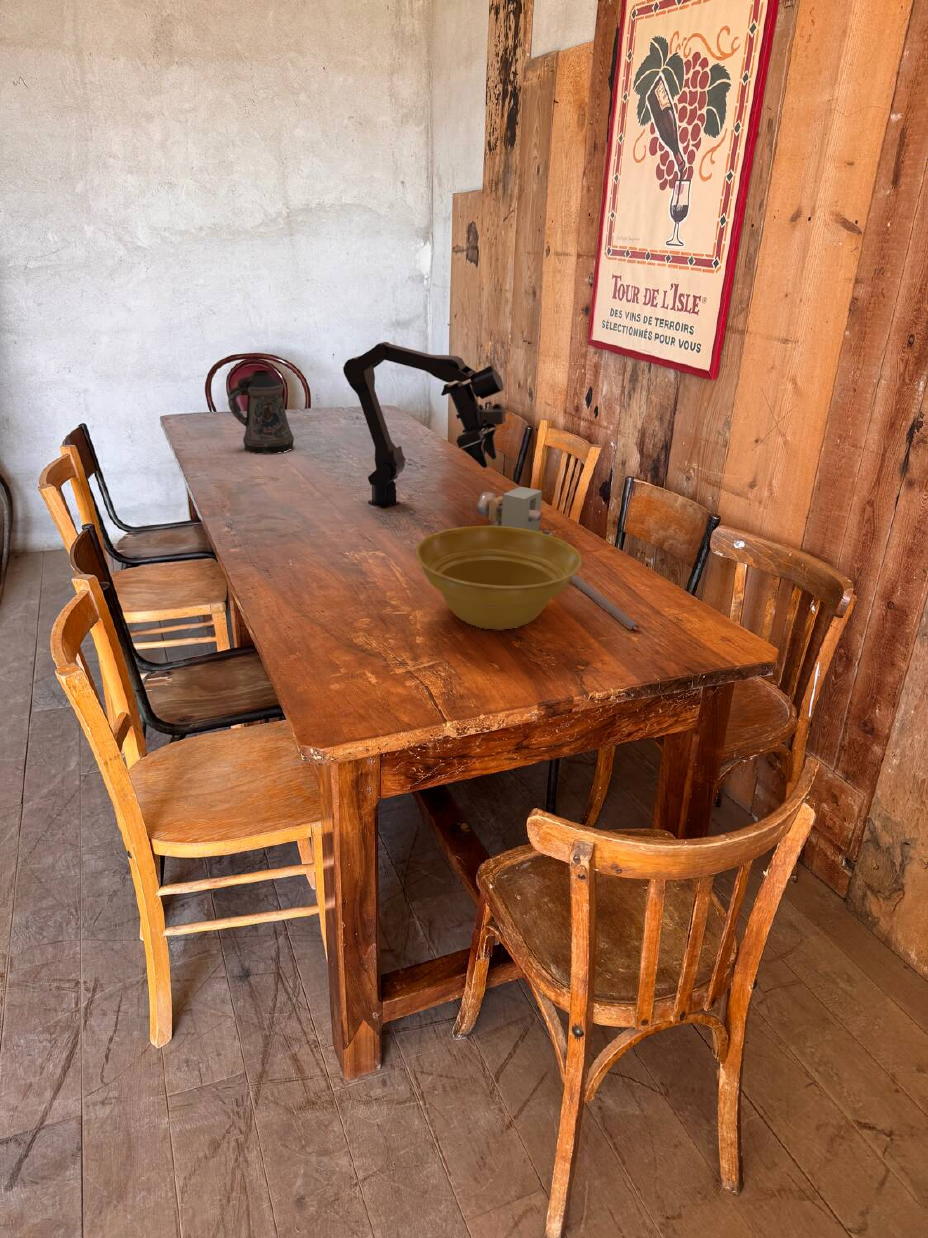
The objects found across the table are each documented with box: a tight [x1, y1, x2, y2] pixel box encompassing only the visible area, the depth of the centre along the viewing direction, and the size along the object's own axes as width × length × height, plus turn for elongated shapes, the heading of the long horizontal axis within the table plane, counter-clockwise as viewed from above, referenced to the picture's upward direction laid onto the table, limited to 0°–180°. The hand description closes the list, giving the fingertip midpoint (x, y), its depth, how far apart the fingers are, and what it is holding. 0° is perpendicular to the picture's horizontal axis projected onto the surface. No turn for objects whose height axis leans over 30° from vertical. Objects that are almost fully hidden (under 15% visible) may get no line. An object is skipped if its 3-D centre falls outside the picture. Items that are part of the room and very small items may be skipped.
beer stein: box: [227, 369, 295, 454], centre depth 275 cm, size 16×19×25 cm
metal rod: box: [570, 573, 641, 630], centre depth 174 cm, size 2×27×2 cm, turn 20°
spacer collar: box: [488, 495, 503, 523], centre depth 211 cm, size 2×5×5 cm, turn 146°
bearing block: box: [488, 486, 554, 537], centre depth 208 cm, size 16×9×12 cm, turn 57°
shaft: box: [476, 491, 543, 522], centre depth 208 cm, size 16×6×6 cm, turn 57°
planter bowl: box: [414, 525, 583, 630], centre depth 164 cm, size 32×32×13 cm
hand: (490, 463), depth 218 cm, fingers open, 9 cm apart
